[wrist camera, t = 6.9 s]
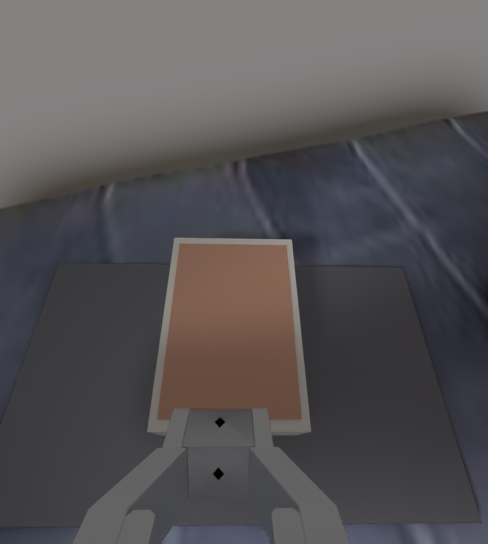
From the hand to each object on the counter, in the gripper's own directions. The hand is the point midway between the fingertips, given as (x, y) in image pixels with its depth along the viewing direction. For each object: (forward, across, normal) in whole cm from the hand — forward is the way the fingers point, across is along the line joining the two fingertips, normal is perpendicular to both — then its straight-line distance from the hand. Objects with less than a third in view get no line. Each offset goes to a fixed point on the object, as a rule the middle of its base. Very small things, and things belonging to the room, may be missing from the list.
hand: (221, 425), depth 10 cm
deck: (+3, 0, +3) cm, 4 cm away
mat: (+6, 0, +2) cm, 7 cm away
